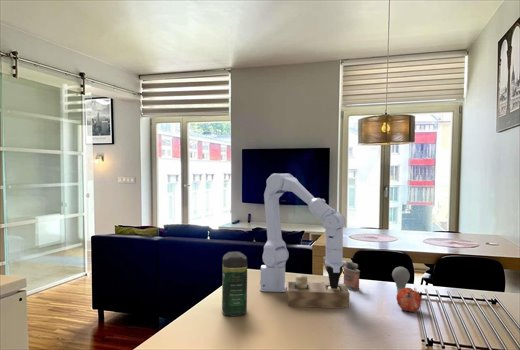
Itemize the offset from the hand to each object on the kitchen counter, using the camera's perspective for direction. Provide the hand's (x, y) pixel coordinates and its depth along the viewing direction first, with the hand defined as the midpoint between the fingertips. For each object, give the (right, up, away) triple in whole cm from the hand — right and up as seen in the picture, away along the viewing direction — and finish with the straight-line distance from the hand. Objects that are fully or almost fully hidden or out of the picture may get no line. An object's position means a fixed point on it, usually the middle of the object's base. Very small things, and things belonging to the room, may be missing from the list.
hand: (333, 288), depth 121 cm
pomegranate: (+23, -5, -6) cm, 24 cm away
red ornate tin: (+10, -5, +15) cm, 19 cm away
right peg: (0, -5, 0) cm, 5 cm away
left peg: (-11, -1, +1) cm, 11 cm away
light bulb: (+26, -5, +9) cm, 28 cm away
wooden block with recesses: (-5, -5, +1) cm, 7 cm away
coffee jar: (-33, -5, -8) cm, 35 cm away
